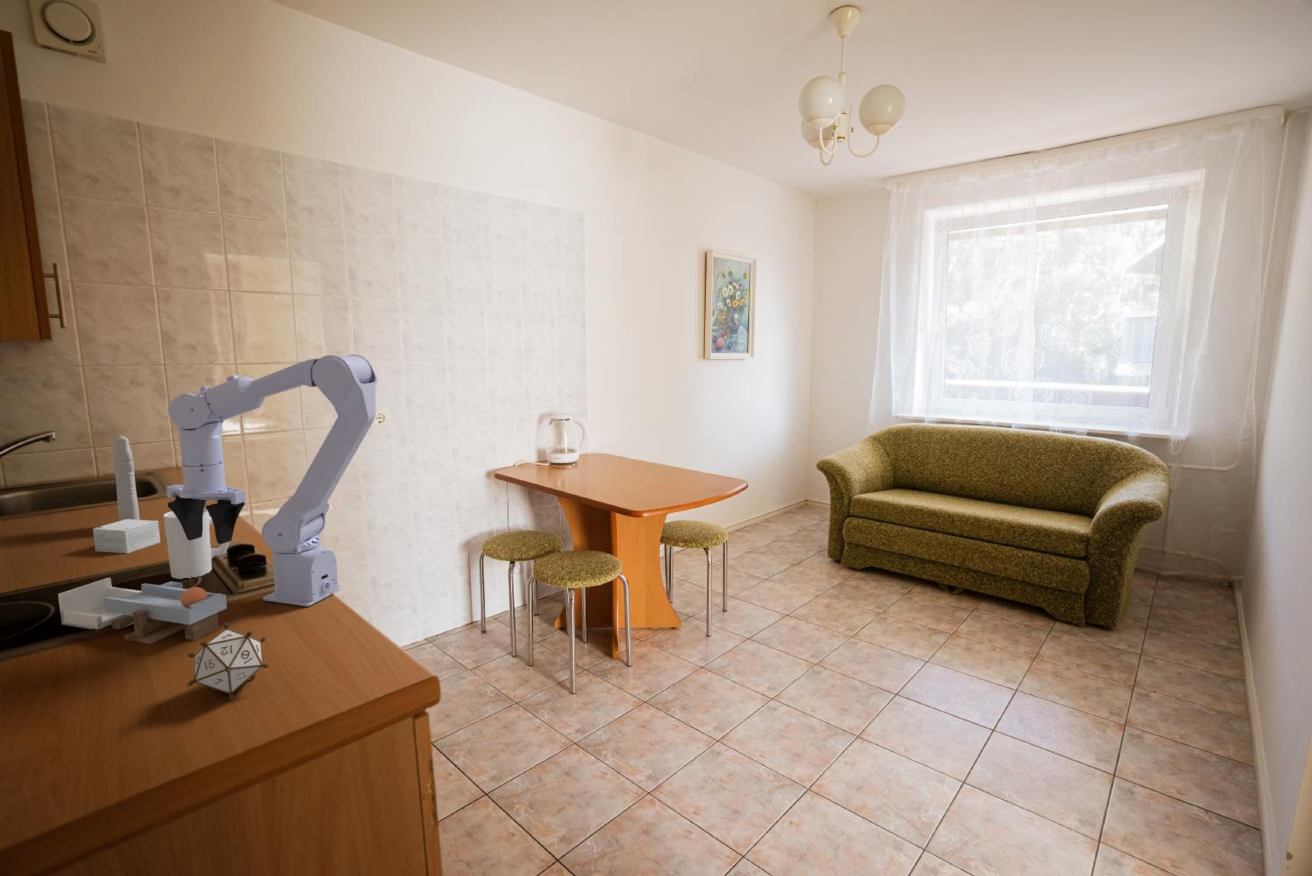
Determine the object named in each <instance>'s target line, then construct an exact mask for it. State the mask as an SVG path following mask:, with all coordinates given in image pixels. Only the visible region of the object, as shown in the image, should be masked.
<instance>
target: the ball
mask: <svg viewBox="0 0 1312 876" xmlns="http://www.w3.org/2000/svg"><path fill="white" fill-rule="evenodd" d="M206 592H207V591H206V590H205V589H204V588H202V587H198V586H196V587H195V586H193V587H190V588H187V590H186V591H185V592H184V593H183V594H182V596H181V603H182V605H183V606H184V607H186V608H189V606H190V605H192V604H194V603H197V602H199V601H202V600H204V599H206V598H207V593H206Z"/></svg>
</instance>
